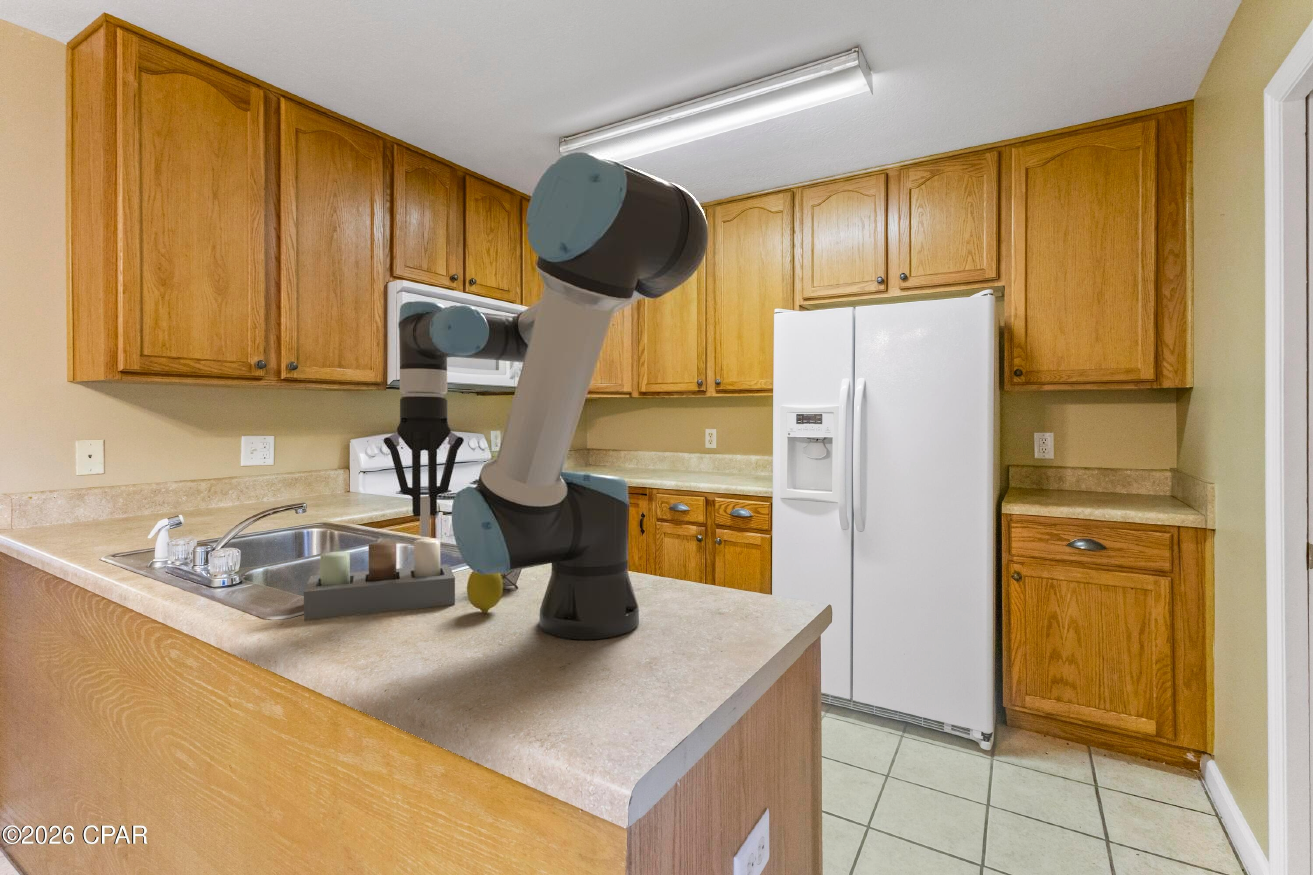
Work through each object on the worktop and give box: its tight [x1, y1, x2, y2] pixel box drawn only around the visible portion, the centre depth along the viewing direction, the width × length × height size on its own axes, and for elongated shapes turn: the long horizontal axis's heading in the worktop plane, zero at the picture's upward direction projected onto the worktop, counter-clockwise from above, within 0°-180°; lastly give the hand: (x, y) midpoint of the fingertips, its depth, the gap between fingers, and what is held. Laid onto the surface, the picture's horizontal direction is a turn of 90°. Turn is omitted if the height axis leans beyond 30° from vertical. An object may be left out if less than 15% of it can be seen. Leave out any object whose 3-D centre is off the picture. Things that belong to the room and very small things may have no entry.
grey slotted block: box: [303, 563, 456, 622], centre depth 104 cm, size 10×22×4 cm, turn 114°
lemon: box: [466, 570, 504, 614], centre depth 100 cm, size 6×6×8 cm
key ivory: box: [413, 538, 441, 578], centre depth 107 cm, size 4×4×7 cm
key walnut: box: [368, 541, 397, 582], centre depth 104 cm, size 4×4×7 cm
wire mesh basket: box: [500, 569, 523, 590], centre depth 114 cm, size 9×8×10 cm
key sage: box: [320, 551, 351, 586], centre depth 101 cm, size 4×4×7 cm
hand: (424, 534), depth 106 cm, fingers closed
